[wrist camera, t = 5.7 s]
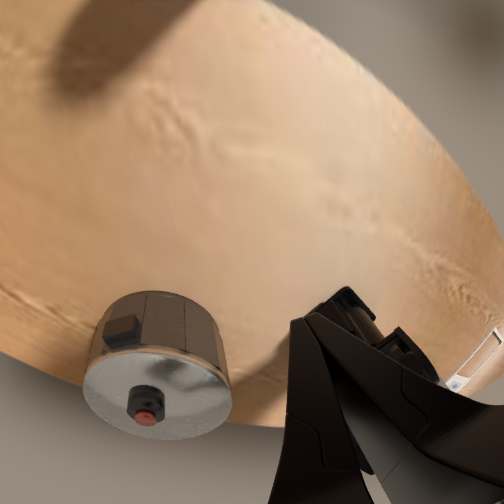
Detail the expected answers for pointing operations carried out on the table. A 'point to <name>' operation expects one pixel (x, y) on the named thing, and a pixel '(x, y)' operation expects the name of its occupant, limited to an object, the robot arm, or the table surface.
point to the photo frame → (458, 381)
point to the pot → (160, 327)
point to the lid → (157, 392)
